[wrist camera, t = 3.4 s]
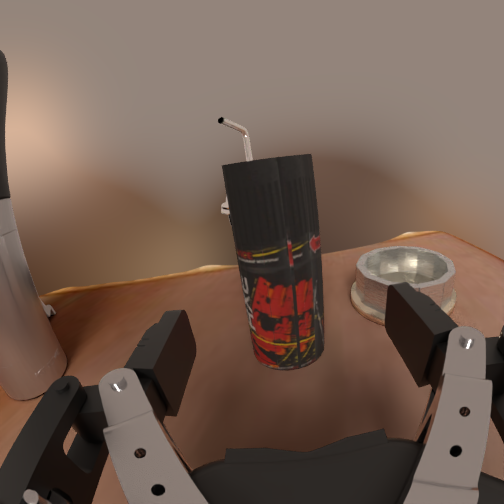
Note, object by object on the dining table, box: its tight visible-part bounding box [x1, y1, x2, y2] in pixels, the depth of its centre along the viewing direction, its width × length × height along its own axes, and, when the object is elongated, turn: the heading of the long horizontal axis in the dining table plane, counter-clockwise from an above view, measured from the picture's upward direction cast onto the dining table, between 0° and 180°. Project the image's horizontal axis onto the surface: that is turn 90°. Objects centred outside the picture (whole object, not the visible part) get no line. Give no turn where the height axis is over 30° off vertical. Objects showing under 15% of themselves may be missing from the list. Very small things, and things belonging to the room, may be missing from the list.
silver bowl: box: [351, 246, 456, 326], centre depth 25 cm, size 12×12×4 cm
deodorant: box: [222, 154, 324, 370], centre depth 20 cm, size 6×6×15 cm
